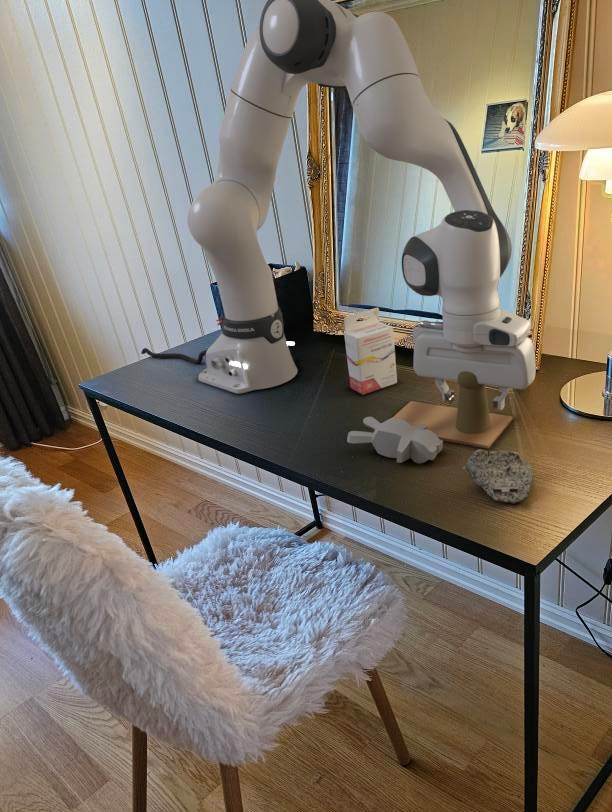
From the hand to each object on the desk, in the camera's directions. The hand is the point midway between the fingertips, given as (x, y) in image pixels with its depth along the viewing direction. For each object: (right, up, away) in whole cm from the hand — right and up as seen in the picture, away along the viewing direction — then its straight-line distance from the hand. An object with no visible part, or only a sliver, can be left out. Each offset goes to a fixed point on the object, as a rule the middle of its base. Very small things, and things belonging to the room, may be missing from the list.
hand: (472, 404), depth 109 cm
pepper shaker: (0, -3, +2) cm, 4 cm away
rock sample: (+3, -15, -14) cm, 20 cm away
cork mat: (-4, -3, +5) cm, 7 cm away
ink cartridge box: (-16, +7, +22) cm, 28 cm away
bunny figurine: (-13, -8, -1) cm, 15 cm away
